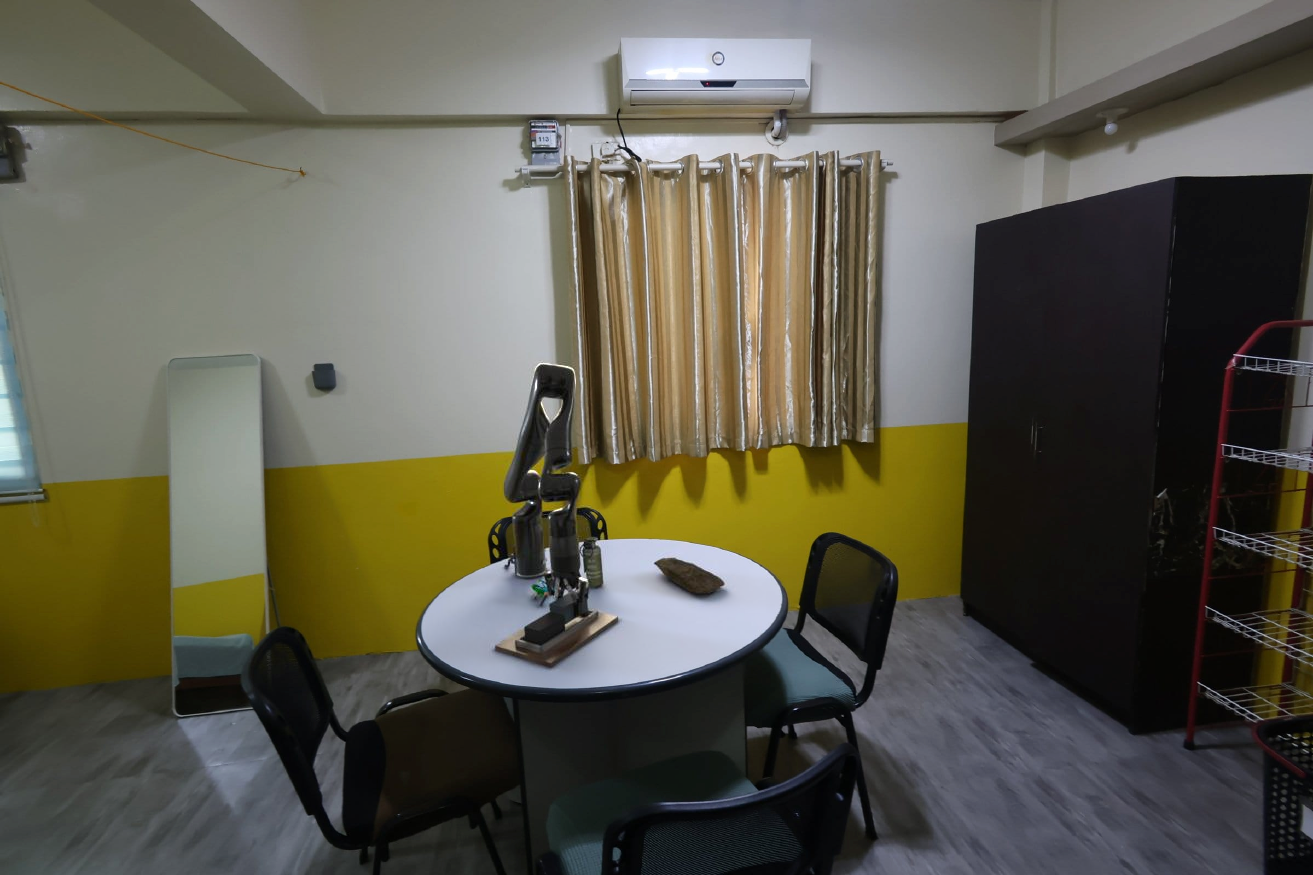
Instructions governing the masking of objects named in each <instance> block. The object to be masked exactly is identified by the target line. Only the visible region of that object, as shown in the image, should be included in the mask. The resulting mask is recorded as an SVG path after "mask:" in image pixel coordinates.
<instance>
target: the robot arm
mask: <svg viewBox="0 0 1313 875" xmlns="http://www.w3.org/2000/svg"><path fill="white" fill-rule="evenodd" d="M576 383H577V382H576V373H575V370H574V368H572V367H570V366H566V365H559V364H553V363H544V362H542V363H539V364H538V365H537V366H536V367H535V369H534V372H533V376H532V380H531V385H530V391H529V397H528V401H527V406H526V410H525V413H524V417H523V421H522V424H521V427H520V430H519V434H518V438H517V443H516V447H515V451H514V454H513V458H512V460H511V463H510V465H509V468H508V469H507V472H506V475H505V478H504V482H503V495H504V498H505V500H506V501H507V502H509V503H511V504H520V503H523V502H525V503H524V504H523V505H522V506H521V507H520V508H519V509H517V510H516V511H515V512H513V514H512V516H511V522H512V532H513V543H514V544H513V545H512V553H510V554H509V559H508V560H507V564H503V565H504V566H503V567H504V568H507V569H508V568H510V566H511V565H513V567H514V575H516V576H517V577H518V578H520V579H535V578H539V577H541V576H543V578H544V582H546V585H545V586H547V589H548V593H549V597H553V598H554V600H557V599H559V598H560V597H562V596H564V595H565V591H567V593H569V595H570V596H571V597H572V600H573V603H574V604H573V606H574V617H579V616H580V615H581V614H582V612H583V610H582V602H584V601H586V600H587V601H588V599H589V595H590V589H591V587H590V582H591V581H590V579H589V578H588V579H587V578H583V577H582V575H581V572H580V569H581V566H582V565H581V564H582V563H581V554H580V539H579V535H578V534H579V533H578V523H577V512H578V505H579V504H578V503H579V499H580V495H581V491H582V481H581V478H580V477H579V475H578V474H576V473H575V472H560V473H556V472H558V471H560V470H565V469H567V468H569V467H571V465H572V463H573V440H572V431H573V430H572V429H573V419H574V418H573V417H574V411H575V410H574V409H575V399H576V385H577V384H576ZM544 398H545V399H546V398H547V399H553V400H561V407H560V409H559V411H558V413H557V414H556V415H555V417H554V419H553V420H552V421H550V419H549V417H548V415H547V413H546V411H545V409H544V406H543V403H542V401H543V399H544ZM543 458H544V461H543V467H542V471H541V474H540V475H539V473H538V472H537V471H536V470H534V469H533V468H534V467H535V466H536V464H538V463H539V462H540V461H541V460H542V459H543ZM532 469H533V470H532ZM543 502H544V503H548V504H549V503H561V502H567V504H565V506H563V507H560V508H558V509H554V510H552V511H550V512H549V513H548V515H547V525H548V536H549V537H548V550H549V561H550V571H548V569H547V561H548V557H546V547H545V537H544V525H543V510H544V509H543V507H544V506H543ZM552 586H553V590H552ZM576 594H577V597H578V598H577V597H576Z"/></svg>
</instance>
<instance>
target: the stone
mask: <svg viewBox="0 0 1313 875" xmlns="http://www.w3.org/2000/svg"><path fill="white" fill-rule="evenodd" d="M653 565H655V566H656V567H657V568H658V569H659V570H660V571H661V573H662V574H663V575H664V576H665V577H667V578H668V580H670V581H672V582H674V583H675V584H677V585H679V586H680V587H682V589H684V590H686V591H689V592H691V593H692V594H710V593H713V592H715V591H718V590H720V589H721V587H723V586H725V585H726V584H725V582H724V580H722V578H720V577H719V576H717V575H716V574H714V573H712V572H711V571H708V570H706V569H703V568H702V567H700V566H698V565H696V564H695V563H692V562H688V561H684V560H682V559H678V558H676V557H662V558H660V559H657V560H655V561H654V562H653Z"/></svg>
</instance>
